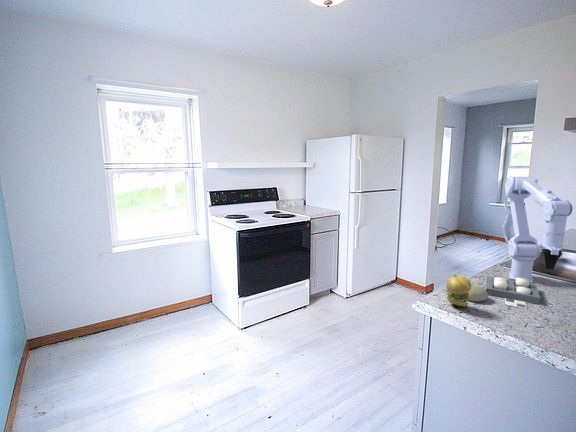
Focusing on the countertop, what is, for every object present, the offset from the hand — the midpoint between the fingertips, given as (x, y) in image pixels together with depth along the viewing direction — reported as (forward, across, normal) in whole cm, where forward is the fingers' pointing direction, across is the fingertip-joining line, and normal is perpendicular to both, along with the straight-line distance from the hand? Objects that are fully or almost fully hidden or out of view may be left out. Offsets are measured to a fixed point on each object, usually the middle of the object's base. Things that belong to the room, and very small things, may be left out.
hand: (549, 269), depth 116 cm
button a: (+9, +1, -14) cm, 17 cm away
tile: (+10, +16, -10) cm, 21 cm away
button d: (+10, +8, -7) cm, 15 cm away
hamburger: (+10, +29, -27) cm, 41 cm away
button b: (+8, +8, -15) cm, 19 cm away
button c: (+8, +1, -8) cm, 11 cm away
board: (+10, +4, -11) cm, 15 cm away
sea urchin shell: (+10, +18, -23) cm, 31 cm away
